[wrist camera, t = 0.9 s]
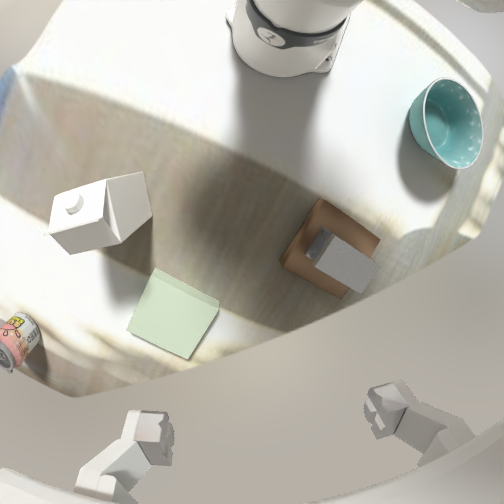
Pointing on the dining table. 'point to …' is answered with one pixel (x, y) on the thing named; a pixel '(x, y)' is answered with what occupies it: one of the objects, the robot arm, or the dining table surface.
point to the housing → (341, 260)
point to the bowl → (447, 123)
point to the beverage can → (17, 340)
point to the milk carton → (100, 213)
